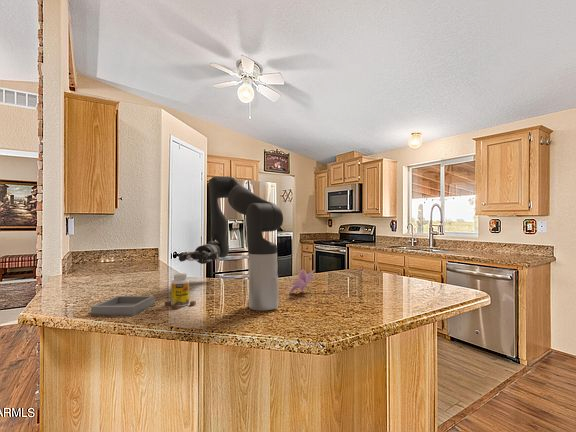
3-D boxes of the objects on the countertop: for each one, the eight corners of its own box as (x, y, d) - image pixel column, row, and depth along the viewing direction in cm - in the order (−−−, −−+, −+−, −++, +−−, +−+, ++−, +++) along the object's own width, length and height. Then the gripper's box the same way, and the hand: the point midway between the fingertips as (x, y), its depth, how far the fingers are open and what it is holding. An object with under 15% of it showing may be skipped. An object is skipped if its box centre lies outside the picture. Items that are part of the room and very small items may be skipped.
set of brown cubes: (199, 301, 106) (199, 297, 106) (189, 309, 97) (189, 305, 97) (172, 301, 107) (172, 297, 107) (159, 309, 97) (159, 305, 97)
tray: (154, 303, 104) (154, 296, 104) (133, 315, 91) (133, 306, 91) (117, 303, 104) (117, 296, 104) (91, 315, 91) (91, 306, 91)
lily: (320, 293, 121) (309, 270, 124) (328, 287, 110) (316, 263, 113) (292, 305, 117) (282, 282, 120) (298, 300, 106) (287, 275, 109)
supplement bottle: (173, 308, 98) (173, 276, 98) (169, 304, 102) (169, 274, 103) (191, 305, 101) (191, 274, 101) (186, 302, 106) (186, 272, 106)
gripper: (189, 244, 130) (173, 248, 114) (222, 244, 129) (211, 248, 113) (189, 262, 130) (173, 268, 114) (222, 262, 129) (211, 269, 113)
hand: (192, 258), depth 113 cm, fingers open, 8 cm apart
